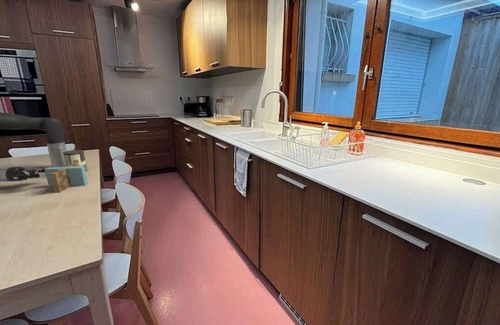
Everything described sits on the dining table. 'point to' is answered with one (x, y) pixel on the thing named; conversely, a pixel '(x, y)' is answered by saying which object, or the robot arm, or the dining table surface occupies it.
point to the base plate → (61, 178)
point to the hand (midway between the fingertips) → (45, 172)
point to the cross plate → (69, 175)
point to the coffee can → (75, 158)
